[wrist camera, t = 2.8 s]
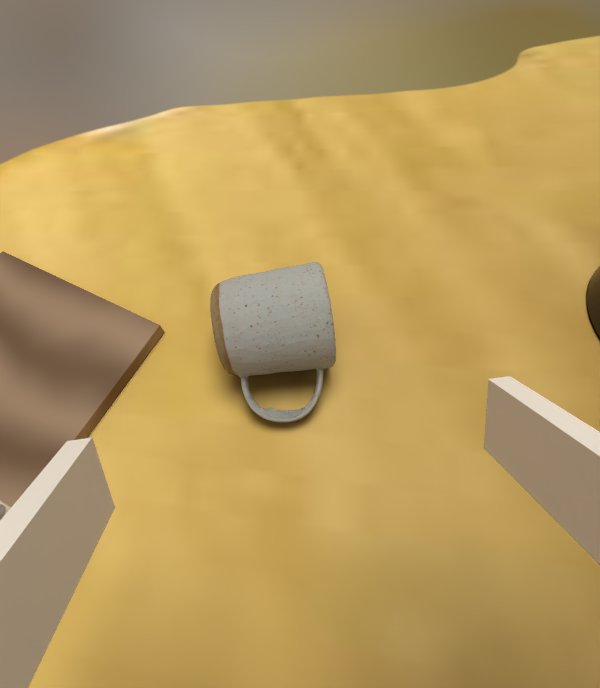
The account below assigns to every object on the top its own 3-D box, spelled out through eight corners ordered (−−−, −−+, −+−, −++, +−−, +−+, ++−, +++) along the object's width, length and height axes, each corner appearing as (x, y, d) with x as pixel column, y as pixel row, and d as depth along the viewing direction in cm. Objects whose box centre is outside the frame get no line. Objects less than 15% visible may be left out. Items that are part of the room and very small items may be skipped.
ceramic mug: (223, 312, 33) (202, 255, 26) (317, 298, 33) (321, 239, 26) (235, 434, 28) (214, 407, 21) (343, 416, 29) (357, 383, 22)
